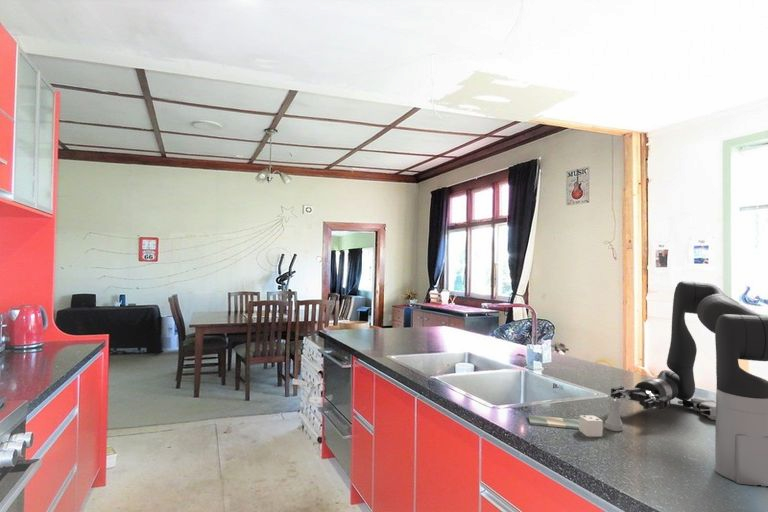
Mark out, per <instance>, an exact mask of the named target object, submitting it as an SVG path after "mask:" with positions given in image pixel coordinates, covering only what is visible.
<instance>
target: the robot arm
mask: <svg viewBox="0 0 768 512" xmlns="http://www.w3.org/2000/svg"><path fill="white" fill-rule="evenodd" d="M672 300H673V301H672V302H673V303H672V315H671V332H670V333H671V334H670V335H671V337H670V344H669V345H670V346H669V348H668V354H667V359H666V366H667V368H668V369H669V370H665V369H664V370H661V371H660V372H659V373H658V375H657V376H656V378H650V379H646V380H642V381H640V382H638V383H637V384H635V386H634V387H633V388H627V387H626V388H625V386H623V385H620V386H615V387H611V388H610V397H614V399H615V397H616V398H617V400H618V398H619V399H620V401H622V400H623V401H625V402H628V403H629V402H631V403H632V402H633V403H637V404H638V405H640V406H641V407H643V409H644V410H649V409H657V408H659V410H662V411H663V410H666V409H668V408H669V407H671V401H672V400H673V399H678V400H679V401H683V400H688V401H690V400H691V399H693V396H695V395H694V394H695V391H696V382H695V375H694V366H695V361H696V357H697V352H698V351H697V344H696V341H695V339H694V337H693V335H692V333H691V332H690V330H689V328H688V326H687V324H686V317H685V315H686V313H687V314H694V315H697V318H698V319H699V321H700V323H701V324H702V325H703V326H704V327H705V328H706V329H708V330H709V332H711V333H713V334H714V339H715V340H714V341H715V342H714V343H715V364H716V365H715V369H716V371H715V372H716V375H715V376H716V393H715V396H716V397H715V402H716V420H715V432H714V433H715V438H714V441H715V442H714V443H715V444H714V454H715V455H714V470H715V472H716V473H717V474H719V475H721V476H722V477H724V478H726V479H729V480H731V481H733V482H736V484H738V485H739V484H741V485H749V486H757V485H761V486H760V487H766V486H768V380H767V379H765V378H762V377H760V376H756V375H754V374H752V373H750V372H748V371H745V370H744V369H742V368H741V366H740V364H739V363H740V362H739V360H743V361H753V362H754V361H755V362H768V316H767V315H763V314H760V313H758V312H755V311H753V310H751V309H750V308H748V307H746V306H744V305H742V304H740V303H739V302H738V301H736V300H735V299H733V298H731V297H729V296H728V295H727V294H725V293H724V292H723V291H722V290H721V288H720V287H719V286H717V285H716V284H713V283H709V282H700V281H699V282H698V281H688V280H687V281H685V280H684V281H683V280H682V281H679V282H678V283H677V284H676V287H675V290H674V294H673V299H672Z"/></svg>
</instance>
